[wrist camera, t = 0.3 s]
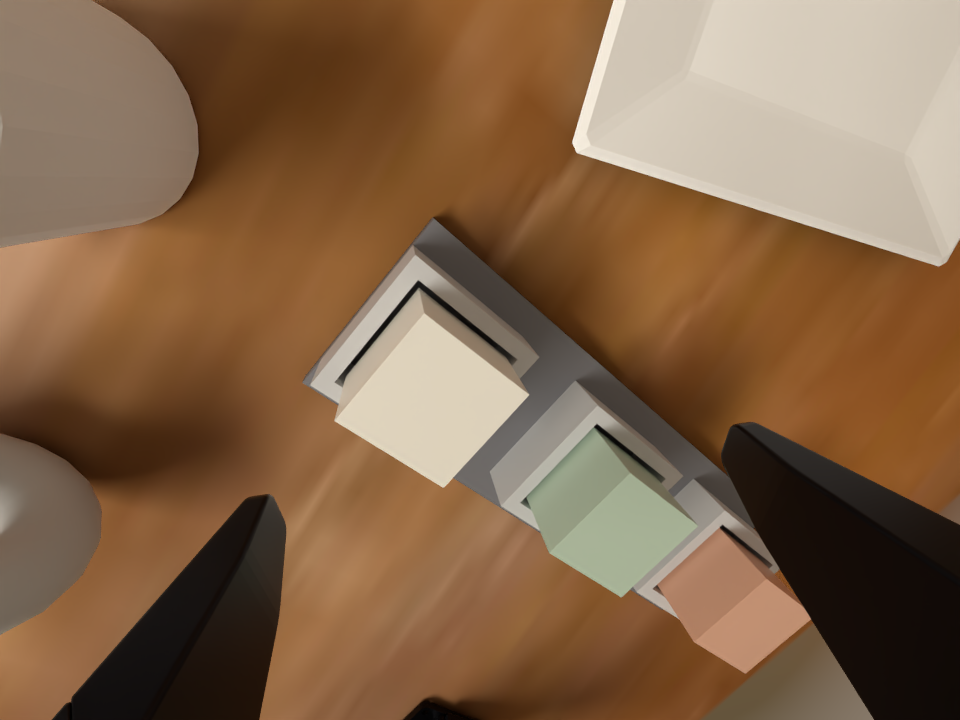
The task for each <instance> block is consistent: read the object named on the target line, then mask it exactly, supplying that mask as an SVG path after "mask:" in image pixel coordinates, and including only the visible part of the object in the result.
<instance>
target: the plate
mask: <svg viewBox="0 0 960 720" xmlns="http://www.w3.org/2000/svg"><path fill="white" fill-rule="evenodd" d="M572 143H573V146H574V148H575V150H576V152H577V153H579V154H582V155H585V156H588V157H591V158H595V159H598V160H601V161H604V162H607V163H610V164H614V165H617V166H620V167H623V168H626V169H630V170H633V171H636V172H639V173H642V174H646V175H649V176H652V177H655V178H658V179H661V180H665V181H668V182H671V183H674V184H677V185H681V186H684V187H687V188H690V189H693V190H697V191H700V192H703V193H706V194H709V195H712V196H716V197H719V198H722V199H725V200H728V201H732V202H735V203H738V204H741V205H744V206H748V207H751V208H754V209H757V210H760V211H763V212H767V213H770V214H773V215H776V216H779V217H783V218H786V219H789V220H792V221H795V222H799V223H802V224H805V225H808V226H811V227H814V228H818V229H821V230H824V231H827V232H830V233H834V234H837V235H840V236H843V237H846V238H850V239H853V240H856V241H859V242H862V243H865V244H869V245H872V246H875V247H878V248H881V249H885V250H888V251H891V252H894V253H897V254H901V255H904V256H907V257H910V258H913V259H916V260H920V261H923V262H926V263H929V264H932V265H936V266H941V265H942V264H944V263H946V262H947V260H948V259H949V257H950V255H951V254H952V252H953V250H954V248H955V247H956V245H957V243H958V241H959V240H960V0H614V1H613V4H612V8H611V11H610V15H609V18H608V22H607V25H606V28H605V32H604V35H603V39H602V42H601V46H600V49H599V52H598V56H597V59H596V63H595V66H594V70H593V73H592V76H591V80H590V83H589V87H588V90H587V94H586V97H585V100H584V104H583V107H582V111H581V114H580V118H579V121H578V124H577V128H576V131H575V135H574V138H573V142H572Z"/></svg>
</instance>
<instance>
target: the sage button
mask: <svg viewBox="0 0 960 720" xmlns="http://www.w3.org/2000/svg"><path fill="white" fill-rule="evenodd" d="M526 498H527V500H528V503H529V505H530V507H531V510H532V512H533V515H534V517H535V520H536V522H537V524H538V527H539V529H540V532H541V534H542V537H543V539H544V542H545V544H546V546H547V549H548V551H549V553H550V554H552V555H553V556H555V557H557V558H558V559H560V560H562V561H563V562H565V563H566V564H568V565H570V566H571V567H573V568H575V569H576V570H578V571H579V572H581V573H583V574H584V575H586V576H588V577H589V578H591V579H592V580H594V581H596V582H597V583H599V584H601V585H602V586H604V587H605V588H607V589H609V590H610V591H612V592H614V593H615V594H617V595H618V596H620V597H622V596H623V595H624V594H626V593H627V592H628V591H629V590H630V589H631V588H632V587H633V586H634V585H635V584H636V583H637V582H639V581H640V580H641V579H642V578H643V577H644V576H645V575H646V574H647V573H648V572H649V571H650V570H651V569H653V568H654V567H655V566H656V565H657V564H658V563H659V562H660V561H661V560H662V559H663V558H664V557H666V556H667V555H668V554H669V553H670V552H671V551H672V550H673V549H674V548H675V547H676V546H677V545H678V544H680V543H681V542H682V541H683V540H684V539H685V538H686V537H687V536H688V535H689V534H690V533H691V532H692V531H694V530H695V529H696V528H697V527H698V525H697V524H696V523H695V521H694V520H693V519H692V518H691V517H690V516H689V514H688V513H687V512H686V511H685V510H684V509H683V508H682V506H681V505H680V504H679V503H678V502H677V501H676V500H675V498H674V497H673V496H672V495H671V494H670V493H669V492H668V490H667V489H666V488H665V487H664V486H663V485H662V484H661V482H660V481H659V480H658V479H657V478H656V477H655V476H654V475H653V474H652V473H651V472H650V471H648V470H647V469H646V468H645V467H643V466H642V465H641V464H640V463H638V462H637V461H636V460H635V459H633V458H632V457H631V456H630V455H628V454H627V453H626V452H625V451H623V450H622V449H621V448H620V447H618V446H617V445H616V444H615V443H613V442H612V441H611V440H610V439H608V438H607V437H606V436H605V435H603V434H602V433H601V432H599V431H598V430H597V429H596V428H594V427H593V428H592V429H591V430H590V431H589V432H588V433H587V434H586V435H585V436H584V438H583V439H582V440H581V441H580V442H579V443H578V444H577V445H576V446H575V447H574V448H573V449H572V450H571V451H570V452H569V453H568V454H567V455H566V456H565V457H564V458H563V459H562V460H561V461H560V462H559V463H558V464H557V465H556V466H555V467H554V468H553V469H552V470H551V472H550V473H549V474H548V475H547V476H546V477H545V478H544V479H543V480H542V481H541V482H540V483H539V484H538V485H537V486H536V487H535V488H534V489H533V490H532V491H531V492H530V493H529V494H528V495H527V496H526Z"/></svg>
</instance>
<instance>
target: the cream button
mask: <svg viewBox="0 0 960 720" xmlns="http://www.w3.org/2000/svg"><path fill="white" fill-rule="evenodd" d="M528 396H529V393H528V392H527V390H526V388H525V387H524V385H523V384H522V382H521V380H520V379H519V377H518V376H517V374H516V372H515V371H514V369H513V368H512V366H511V364H510V363H509V361H508V359H507V358H506V357H505V356H504V355H503V354H502V353H500V352H499V351H498V350H497V349H495V348H494V347H493V346H492V345H490V344H489V343H488V342H486V341H485V340H484V339H483V338H481V337H480V336H479V335H478V334H476V333H475V332H474V331H473V330H471V329H470V328H469V327H468V326H466V325H465V324H464V323H463V322H461V321H460V320H459V319H458V318H456V317H455V316H454V315H453V314H451V313H450V312H449V311H448V310H446V309H445V308H444V307H443V306H441V305H440V304H439V303H438V302H436V301H435V300H434V299H432V298H431V297H430V296H429V295H427V294H426V293H425V292H424V291H422V290H421V289H420V288H418V289H417V290H416V292H415V293H414V294H413V295H412V297H411V298H410V299H409V300H408V301H407V303H406V304H405V305H404V306H403V307H402V309H401V310H400V311H399V312H398V314H397V315H396V316H395V317H394V318H393V320H392V321H391V322H390V323H389V325H388V326H387V327H386V328H385V329H384V331H383V332H382V333H381V334H380V335H379V337H378V338H377V339H376V340H375V342H374V343H373V344H372V345H371V346H370V348H369V349H368V350H367V351H366V352H365V354H364V355H363V356H362V357H361V359H360V360H359V361H358V362H357V363H356V365H355V366H354V367H353V368H352V370H351V371H350V372H349V373H348V374H347V376H346V378H345V382H344V385H343V389H342V393H341V397H340V401H339V405H338V409H337V413H336V417H335V420H334V421H336V422H337V423H339V424H340V425H342V426H344V427H345V428H347V429H349V430H350V431H352V432H353V433H355V434H357V435H358V436H360V437H362V438H363V439H365V440H366V441H368V442H370V443H371V444H373V445H375V446H376V447H378V448H379V449H381V450H383V451H384V452H386V453H388V454H389V455H391V456H393V457H394V458H396V459H397V460H399V461H401V462H402V463H404V464H406V465H407V466H409V467H410V468H412V469H414V470H415V471H417V472H419V473H420V474H422V475H423V476H425V477H427V478H428V479H430V480H432V481H433V482H435V483H436V484H438V485H440V486H441V487H443V488H444V487H445V486H446V485H447V484H448V483H449V482H450V480H451V479H452V478H453V477H454V476H455V475H456V474H457V473H458V472H459V471H460V470H461V469H462V467H463V466H464V465H465V464H466V463H467V462H468V461H469V460H470V459H471V458H472V457H473V456H474V454H475V453H476V452H477V451H478V450H479V449H480V448H481V447H482V446H483V445H484V444H485V443H486V441H487V440H488V439H489V438H490V437H491V436H492V435H493V434H494V433H495V432H496V431H497V429H498V428H499V427H500V426H501V425H502V424H503V423H504V422H505V421H506V420H507V419H508V418H509V416H510V415H511V414H512V413H513V412H514V411H515V410H516V409H517V408H518V407H519V406H520V405H521V403H522V402H523V401H524V400H525V399H526V398H527V397H528Z"/></svg>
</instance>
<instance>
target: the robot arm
mask: <svg viewBox="0 0 960 720" xmlns="http://www.w3.org/2000/svg"><path fill="white" fill-rule="evenodd" d="M721 458H722V463H723V465H724V468H725V470H726V472H727V474H728V476H729V478H730V480H731V482H732V484H733V486H734V488H735V490H736V492H737V494H738V496H739V498H740V500H741V502H742V504H743V506H744V508H745V510H746V512H747V514H748V516H749V518H750V520H751V522H752V524H753V526H754V527H755V529H756V531H757V533H758V535H759V536H760V538H761V540H762V541H763V543H764V545H765V546H766V548H767V550H768V551H769V553H770V554H771V556H772V558H773V559H774V561H775V562H776V564H777V565H778V567H779V569H780V570H781V572H782V573H783V575H784V577H785V578H786V580H787V581H788V583H789V585H790V586H791V588H792V589H793V591H794V593H795V594H796V596H797V597H798V599H799V601H800V602H801V604H802V605H803V607H804V609H805V610H806V612H807V613H808V615H809V617H810V618H811V620H812V621H813V623H814V625H815V626H816V628H817V629H818V631H819V633H820V634H821V636H822V637H823V639H824V640H825V642H826V644H827V645H828V647H829V648H830V650H831V652H832V653H833V655H834V656H835V658H836V660H837V661H838V663H839V664H840V666H841V668H842V669H843V671H844V672H845V674H846V675H847V677H848V679H849V680H850V682H851V684H852V685H853V687H854V688H855V690H856V691H857V693H858V695H859V696H860V698H861V699H862V701H863V703H864V704H865V706H866V707H867V709H868V711H869V712H870V714H871V715H872V717H873V719H874V720H960V525H959V524H957V523H955V522H953V521H951V520H949V519H947V518H945V517H943V516H941V515H939V514H937V513H935V512H933V511H931V510H929V509H927V508H925V507H923V506H921V505H919V504H917V503H915V502H913V501H911V500H909V499H907V498H905V497H903V496H901V495H899V494H897V493H895V492H893V491H891V490H889V489H887V488H885V487H883V486H881V485H879V484H877V483H875V482H873V481H871V480H869V479H867V478H865V477H863V476H861V475H859V474H857V473H855V472H853V471H851V470H849V469H847V468H845V467H843V466H841V465H839V464H837V463H835V462H833V461H831V460H829V459H827V458H825V457H823V456H821V455H819V454H817V453H815V452H813V451H811V450H809V449H807V448H805V447H803V446H801V445H799V444H797V443H795V442H793V441H791V440H789V439H787V438H785V437H783V436H781V435H779V434H777V433H775V432H773V431H771V430H769V429H767V428H765V427H763V426H761V425H759V424H757V423H754V422H746V423H739V424H734V425H733V426H731V427H730V429H729V432H728V435H727V438H726V441H725V443H724V446H723V449H722V453H721ZM285 542H286V524H285V521H284V518H283V516H282V514H281V512H280V510H279V508H278V505H277V503H276V501H275V499H274V497H273V496H272V495H270V494H265V495H258V496H252V497H248V498H247V499H245V500H244V501H243V502H242V503H241V505H240V506H239V507H238V508H237V509H236V510H235V511H234V513H233V514H232V515H231V516H230V517H229V518H228V519H227V521H226V522H225V523H224V524H223V525H222V526H221V527H220V529H219V530H218V531H217V532H216V533H215V534H214V535H213V536H212V538H211V539H210V540H209V541H208V542H207V543H206V544H205V546H204V547H203V548H202V549H201V550H200V551H199V552H198V554H197V555H196V556H195V557H194V558H193V559H192V560H191V562H190V563H189V564H188V565H187V566H186V567H185V568H184V570H183V571H182V572H181V573H180V574H179V575H178V576H177V578H176V579H175V580H174V581H173V582H172V583H171V584H170V586H169V587H168V588H167V589H166V590H165V591H164V592H163V594H162V595H161V596H160V597H159V598H158V599H157V600H156V602H155V603H154V604H153V605H152V606H151V607H150V608H149V610H148V611H147V612H146V613H145V614H144V615H143V616H142V618H141V619H140V620H139V621H138V622H137V623H136V624H135V626H134V627H133V628H132V629H131V630H130V631H129V632H128V634H127V635H126V636H125V637H124V638H123V639H122V640H121V642H120V643H119V644H118V645H117V646H116V647H115V648H114V650H113V651H112V652H111V653H110V654H109V655H108V656H107V658H106V659H105V660H104V661H103V662H102V663H101V664H100V666H99V667H98V668H97V669H96V670H95V671H94V672H93V673H92V675H91V676H90V677H89V678H88V679H87V680H86V681H85V683H84V684H83V685H82V686H81V687H80V688H79V689H78V691H77V692H76V693H75V694H74V695H73V696H72V699H71V702H69V703H66V704H65V705H64V706H63V707H62V709H61V710H60V711H59V712H58V713H57V714H56V715H55V717H54V718H53V719H52V720H259V718H260V713H261V707H262V702H263V697H264V692H265V687H266V682H267V677H268V672H269V667H270V662H271V657H272V651H273V646H274V641H275V636H276V631H277V625H278V619H279V612H280V602H281V590H282V578H283V566H284V554H285ZM404 720H473V719H471V718H468V717H466V716H463V715H461V714H458V713H456V712H453V711H451V710H448V709H445V708H443V707H440V706H438V705H435V704H433V703H430V702H423V703H421V704H420V705H419V706H417V707H416V708H415V709H414V710H413V711H412V712H411V713H410V714H409V715H408V716H407V717H406V718H405V719H404Z"/></svg>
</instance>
